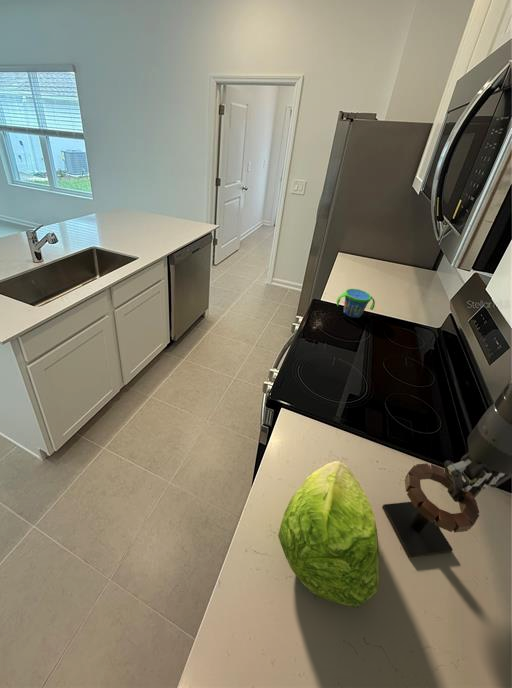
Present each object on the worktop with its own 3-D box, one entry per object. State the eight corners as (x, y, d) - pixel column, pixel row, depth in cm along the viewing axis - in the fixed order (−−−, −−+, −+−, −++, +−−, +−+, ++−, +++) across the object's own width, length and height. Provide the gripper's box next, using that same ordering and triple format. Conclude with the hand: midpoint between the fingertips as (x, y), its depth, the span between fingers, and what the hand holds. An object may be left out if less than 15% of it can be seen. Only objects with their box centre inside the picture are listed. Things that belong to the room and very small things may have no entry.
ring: (442, 467, 62) (446, 461, 61) (489, 528, 53) (495, 522, 52) (393, 471, 61) (396, 465, 60) (431, 535, 51) (436, 529, 50)
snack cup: (368, 310, 140) (374, 291, 135) (372, 323, 131) (380, 302, 126) (332, 305, 142) (338, 286, 137) (335, 317, 133) (340, 297, 128)
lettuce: (378, 505, 67) (388, 454, 62) (374, 644, 47) (388, 584, 42) (300, 477, 74) (303, 429, 70) (268, 586, 54) (269, 529, 49)
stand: (419, 503, 67) (432, 484, 64) (450, 552, 60) (467, 534, 56) (381, 507, 66) (392, 488, 62) (408, 557, 58) (422, 539, 55)
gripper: (489, 461, 45) (440, 522, 53) (569, 454, 46) (509, 514, 55) (450, 419, 51) (412, 479, 60) (522, 414, 53) (475, 473, 62)
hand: (459, 495), depth 57 cm, fingers closed on ring, 2 cm apart
